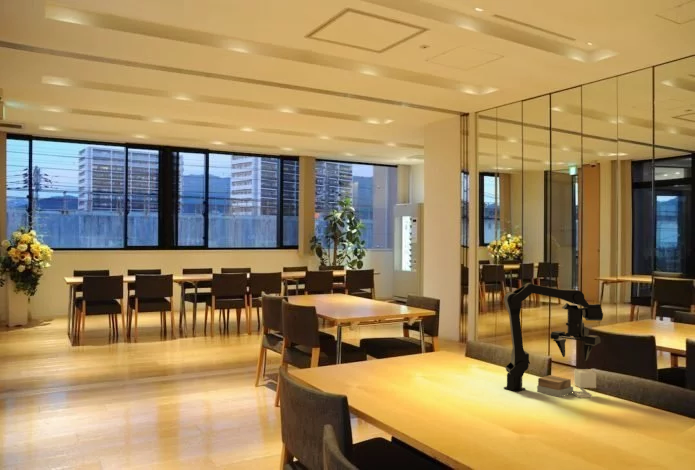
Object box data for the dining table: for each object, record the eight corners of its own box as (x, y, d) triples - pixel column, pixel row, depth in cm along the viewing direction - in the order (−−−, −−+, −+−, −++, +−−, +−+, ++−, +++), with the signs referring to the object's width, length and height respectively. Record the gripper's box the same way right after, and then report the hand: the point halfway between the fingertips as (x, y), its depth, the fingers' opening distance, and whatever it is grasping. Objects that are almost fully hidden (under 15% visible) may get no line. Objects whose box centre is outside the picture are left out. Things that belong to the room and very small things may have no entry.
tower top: (558, 390, 224) (558, 382, 224) (538, 385, 231) (538, 378, 231) (570, 386, 230) (570, 379, 230) (550, 382, 237) (550, 375, 237)
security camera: (596, 398, 222) (596, 372, 222) (578, 397, 222) (578, 372, 222) (589, 393, 229) (589, 368, 229) (572, 393, 229) (572, 368, 229)
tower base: (560, 398, 223) (560, 390, 223) (537, 393, 231) (537, 385, 231) (573, 394, 230) (573, 386, 230) (550, 389, 237) (550, 381, 238)
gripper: (606, 321, 232) (606, 359, 232) (562, 316, 246) (562, 352, 245) (594, 323, 224) (594, 363, 224) (549, 318, 238) (549, 356, 238)
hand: (574, 358), depth 233 cm, fingers open, 9 cm apart
